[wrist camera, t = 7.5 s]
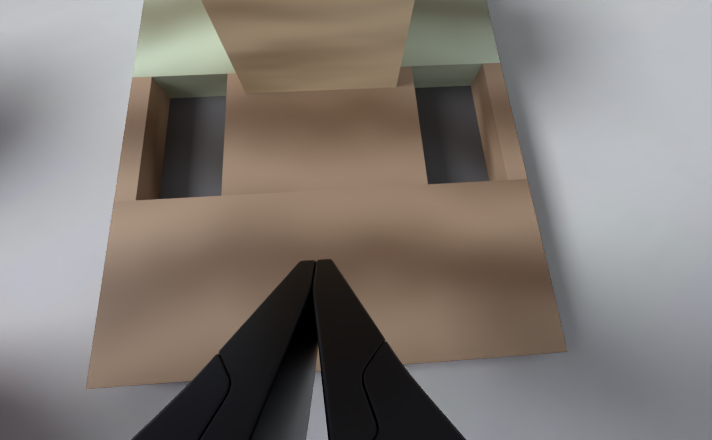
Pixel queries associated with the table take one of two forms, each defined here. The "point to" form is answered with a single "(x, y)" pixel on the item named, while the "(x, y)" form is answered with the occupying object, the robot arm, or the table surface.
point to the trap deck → (320, 201)
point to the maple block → (312, 42)
